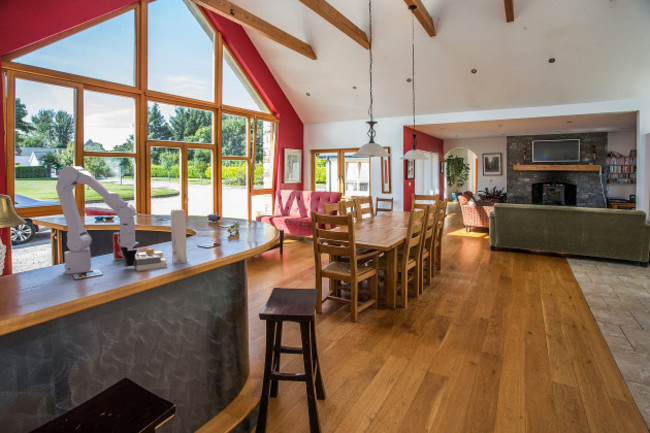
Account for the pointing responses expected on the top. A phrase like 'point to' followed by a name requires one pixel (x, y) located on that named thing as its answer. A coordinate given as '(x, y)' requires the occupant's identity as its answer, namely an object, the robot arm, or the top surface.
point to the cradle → (152, 266)
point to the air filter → (178, 236)
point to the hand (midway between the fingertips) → (129, 264)
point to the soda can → (117, 247)
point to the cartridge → (144, 260)
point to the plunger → (149, 250)
